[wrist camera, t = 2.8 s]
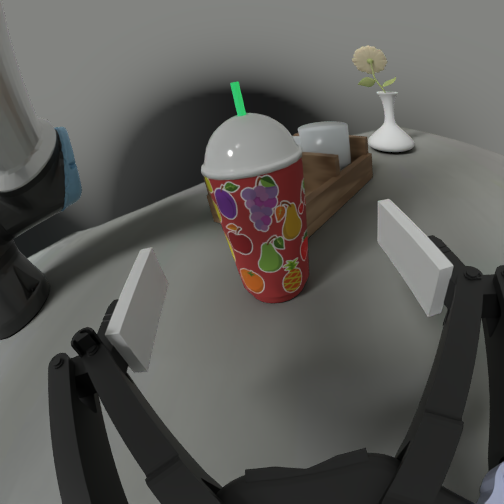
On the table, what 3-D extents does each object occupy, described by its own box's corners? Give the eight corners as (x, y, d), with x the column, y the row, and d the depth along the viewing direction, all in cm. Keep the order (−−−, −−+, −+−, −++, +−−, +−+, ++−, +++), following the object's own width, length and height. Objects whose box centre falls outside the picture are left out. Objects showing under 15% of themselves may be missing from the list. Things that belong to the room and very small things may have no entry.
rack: (214, 221, 46) (201, 177, 42) (300, 167, 59) (294, 133, 55) (299, 245, 36) (291, 188, 32) (372, 177, 49) (370, 137, 45)
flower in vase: (417, 146, 61) (409, 46, 47) (410, 159, 54) (400, 43, 40) (369, 141, 68) (357, 47, 55) (355, 153, 62) (340, 45, 48)
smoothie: (303, 253, 34) (273, 74, 24) (330, 299, 27) (304, 71, 17) (233, 272, 34) (183, 94, 23) (244, 324, 27) (177, 97, 16)
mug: (359, 172, 48) (355, 122, 43) (339, 189, 43) (333, 132, 39) (310, 166, 54) (303, 121, 50) (285, 181, 50) (276, 131, 45)
